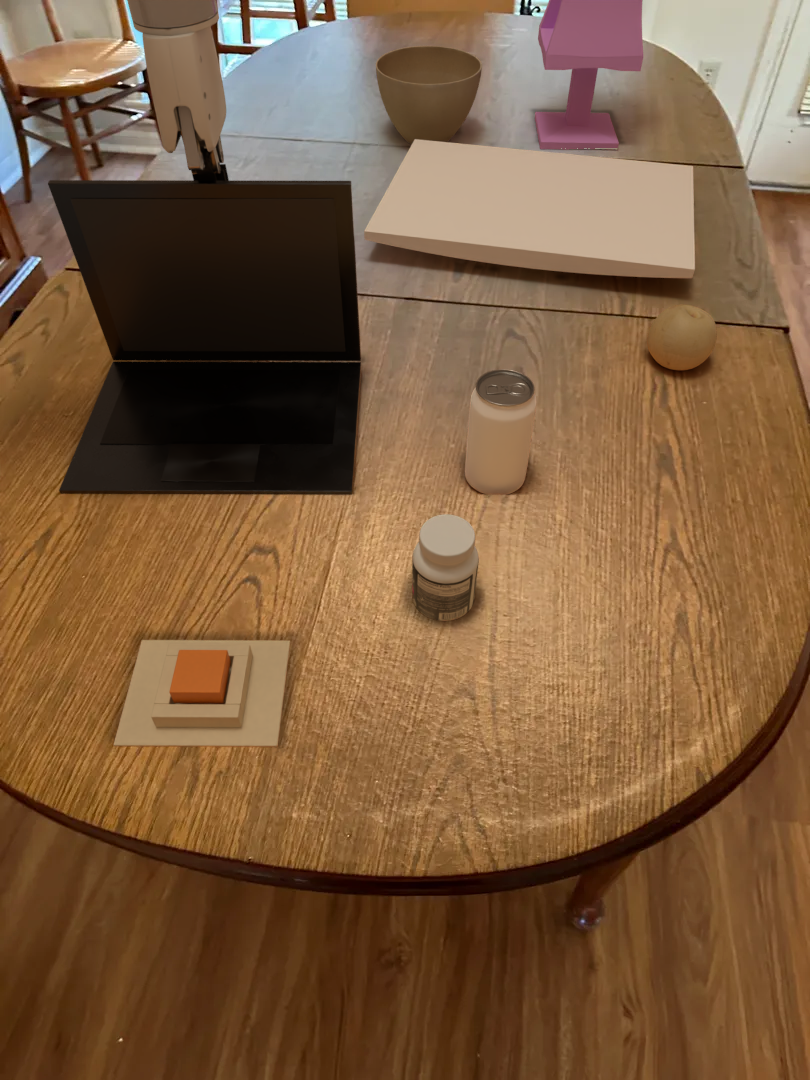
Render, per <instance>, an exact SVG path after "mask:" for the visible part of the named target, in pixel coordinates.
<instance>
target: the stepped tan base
mask: <svg viewBox="0 0 810 1080" xmlns="http://www.w3.org/2000/svg"><path fill="white" fill-rule="evenodd" d="M140 641H141V642H140V645H139V649H138V652H137V657H136V660H135V663H134V668H133V672H132V675H131V679H130V682H129V686H128V690H127V693H126V697H125V701H124V704H123V707H122V712H121V715H120V719H119V723H118V727H117V730H116V734H115V738H114V742H113V746H114V747H173V748H174V747H177V748H178V747H185V748H189V747H191V748H192V747H194V748H195V747H196V748H197V747H199V748H201V747H202V748H203V747H204V748H207V747H209V748H213V747H214V748H215V747H217V748H219V747H220V748H278V746H279V741H280V740H279V739H280V732H281V723H282V716H283V715H282V714H283V708H284V699H285V689H286V682H287V673H288V666H289V665H288V664H289V657H290V650H291V649H290V648H291V640H287V639H286V640H280V639H279V640H276V639H275V640H274V639H273V640H271V639H269V640H268V639H267V640H265V639H264V640H263V639H262V640H260V639H258V640H255V639H254V640H253V639H252V640H251V639H249V640H248V639H246V640H245V639H141V640H140ZM179 650H227V651H228V654H229V657H230V660H231V664H230V669H229V675H228V681H227V686H226V692H225V698H224V703H174V702H173V699H172V697H171V695H170V693H169V691H170V687H171V683H172V678H173V674H174V670H175V665H176V661H177V657H178V652H179Z"/></svg>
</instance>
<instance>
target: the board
mask: <svg viewBox="0 0 810 1080" xmlns="http://www.w3.org/2000/svg"><path fill="white" fill-rule="evenodd" d="M694 192H695V191H694V166H693V165H684V164H677V163H676V164H675V163H665V162H655V161H645V160H634V159H624V158H614V157H613V158H612V157H604V156H594V155H593V156H592V155H585V154H584V155H583V154H572V153H563V152H562V153H561V152H552V151H542V150H530V149H523V148H522V149H521V148H510V147H501V146H490V145H480V144H470V143H457V142H450V141H448V142H439V141H429V140H418V139H415V140H414V142H413V143H412V144H410V147H409V149H408V151H407V153H406V154H405V156H404V158H403V160H402V161H401V163H400V165H399V167H398V169H397V171H396V173H395V174H394V176H393V178H392V180H391V182H390V183H389V185H388V186H387V188H386V191H385V193H384V194H383V197H382V198H381V200H380V202H379V203H378V205H377V207H376V209H375V211H374V213H373V214H372V216H371V217H370V219H369V222H368V224H367V225H366V227H365V229H364V231H363V232H364V233H363V234H364V235H363V236H364V241H369V242H373V243H378V244H383V245H386V246H392V247H396V248H399V249H400V248H401V249H405V250H410V251H415V252H416V251H417V252H421V253H426V254H432V255H437V256H443V257H449V258H455V259H459V260H467V261H475V262H480V263H485V264H486V263H487V264H493V265H501V266H509V267H516V268H517V267H518V268H525V269H532V270H541V271H542V270H543V271H550V272H551V271H554V272H563V273H572V274H573V273H575V274H584V275H585V274H586V275H599V276H614V277H615V276H617V277H632V278H633V277H634V278H635V277H637V278H660V279H661V278H662V279H663V278H664V279H693V277H694V275H695V270H696V254H695V253H696V252H695V251H696V249H695V203H694V198H695V197H694V196H695V195H694V194H695V193H694Z"/></svg>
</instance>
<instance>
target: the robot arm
mask: <svg viewBox="0 0 810 1080" xmlns="http://www.w3.org/2000/svg"><path fill="white" fill-rule="evenodd" d="M126 1H127V5H128V10H129V13H130V16H131V20H132V21H131V22H132V25H133V28H134V30H136V31H137V32H140V33H142V45H143V53H144V57H145V58H144V60H145V66H146V72H147V78H148V82H149V87H150V93H151V98H152V103H153V108H154V111H155V116H156V120H157V121H156V122H157V126H158V130H159V135H160V139H161V140H160V141H161V143H162V147H163V149H164V150H165V152H166V153H168V154H173V153H174V152H175V151H176V149H177V147H178V144H179V142H180V139H182V143H183V148H184V154H185V159H186V165H187V168H188V169H187V170H188V171H191V175H192V180H206V181H230V179H229V175H228V169H227V165H226V163H225V157H224V151H223V145H222V138H221V134H222V131H223V128H224V125H225V122H226V117H227V102H226V101H227V100H226V95H225V88H224V82H223V77H222V72H221V67H220V63H219V62H220V61H219V58H218V53H217V48H216V43H215V40H214V39H215V38H214V32H213V29H212V26H213V25H215V24H216V23H218V22H219V20H220V14H219V10H218V9H219V8H218V3H217V0H126Z"/></svg>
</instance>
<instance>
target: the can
mask: <svg viewBox="0 0 810 1080" xmlns="http://www.w3.org/2000/svg"><path fill="white" fill-rule="evenodd" d="M535 390H536V389H535V384H534V383H533V380H531V378H530V377H528V375H526V374H524V373H522V372H520V371H517V370H513V369H508V368H500V369H499V368H498V369H492V370H489V371H487V372H484V373H483V374H481V375H480V376H479V377H478V379H477V380H476V382H475V387H474V389H473V390H472V392H471V395H470V400H469V402H470V403H469V411H468V423H467V436H466V450H465V463H464V464H465V465H464V477H465V480H466V482H467V483H468V485H469V486H470V487H471V488H473V489H474V490H475V491H476V492H478V493H480V494H483V495H486V496H488V495H491V496H493V495H494V496H495V495H497V496H498V495H500V496H502V495H503V496H504V495H510V494H513V493H515V492H516V491H518V490H519V489H520V488H521V487H522V486H523V485H524V483H525V481H526V478H527V477H526V476H527V471H528V469H527V468H528V465H529V464H528V463H529V457H530V451H531V445H532V437H533V431H534V426H535V421H536V420H535V418H536V412H537V396H536V393H535Z"/></svg>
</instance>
